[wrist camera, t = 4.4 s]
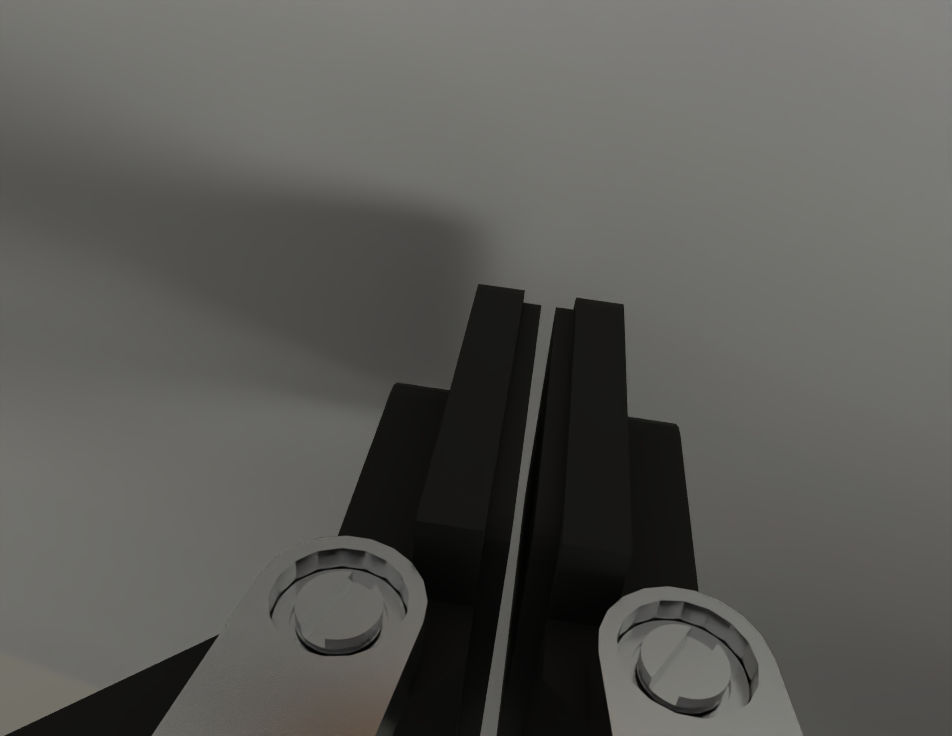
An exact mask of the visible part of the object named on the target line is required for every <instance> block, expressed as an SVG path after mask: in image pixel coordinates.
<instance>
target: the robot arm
mask: <svg viewBox="0 0 952 736" xmlns="http://www.w3.org/2000/svg"><path fill="white" fill-rule="evenodd" d="M524 293H525V290H518V289H511V288H504V287H497V286H490V285H482V284H478V287H477V291H476V295H475V298H474V302H473V306H472V310H471V313H470V317H469V321H468V325H467V328H466V332H465V336H464V340H463V343H462V347H461V351H460V355H459V358H458V362H457V366H456V370H455V374H454V377H453V381H452V385H451V389H450V390H444V389H437V388H430V387H423V386H417V385H410V384H403V383H396V384H394V386H393V388H392V390H391V392H390V395H389V398H388V401H387V403H386V406H385V409H384V411H383V414H382V417H381V420H380V422H379V425H378V428H377V431H376V433H375V436H374V439H373V442H372V444H371V447H370V450H369V452H368V455H367V458H366V461H365V463H364V466H363V469H362V472H361V474H360V477H359V480H358V482H357V485H356V488H355V491H354V493H353V496H352V499H351V502H350V504H349V507H348V510H347V513H346V515H345V518H344V521H343V523H342V526H341V529H340V532H339V534H338V536H335V537H321V538H318V539H315V540H311V541H308V542H305V543H302V544H298V545H296V546H294V547H292V548H291V549H289V550H287V551H286V552H284V553H283V554H281V555H279V556H278V557H276V558H275V559H274V560H273V561H272V562H271V563H270V564H269V565H268V566H267V567H266V568H265V569H264V570H263V571H262V573H261V574H260V575H259V576H258V577H257V579H256V580H255V582H254V583H253V585H252V586H251V588H250V589H249V591H248V592H247V594H246V595H245V597H244V598H243V600H242V601H241V603H240V604H239V606H238V607H237V609H236V610H235V612H234V613H233V615H232V616H231V618H230V619H229V621H228V622H227V624H226V625H225V627H224V628H223V630H222V631H221V633H220V634H219V635H217V636H215V637H213V638H210V639H208V640H206V641H204V642H202V643H200V644H198V645H196V646H193V647H191V648H189V649H187V650H185V651H183V652H181V653H179V654H177V655H174V656H172V657H170V658H168V659H166V660H164V661H162V662H160V663H158V664H155V665H153V666H151V667H149V668H147V669H145V670H143V671H141V672H138V673H136V674H134V675H132V676H130V677H128V678H126V679H124V680H122V681H119V682H117V683H115V684H113V685H111V686H109V687H107V688H105V689H103V690H100V691H98V692H96V693H94V694H92V695H90V696H88V697H86V698H84V699H81V700H79V701H77V702H75V703H73V704H71V705H69V706H67V707H64V708H62V709H60V710H58V711H56V712H54V713H52V714H50V715H48V716H45V717H43V718H41V719H39V720H37V721H35V722H33V723H31V724H29V725H27V726H24V727H22V728H20V729H18V730H16V731H14V732H12V733H9V734H7V735H5V736H480V732H481V726H482V720H483V713H484V707H485V701H486V694H487V688H488V681H489V675H490V669H491V662H492V656H493V650H494V643H495V637H496V630H497V624H498V618H499V611H500V605H501V599H502V592H503V586H504V580H505V573H506V567H507V560H508V554H509V547H510V540H511V533H512V526H513V519H514V512H515V504H516V496H517V489H518V481H519V473H520V465H521V458H522V450H523V442H524V435H525V427H526V419H527V412H528V404H529V396H530V388H531V381H532V373H533V365H534V358H535V350H536V342H537V335H538V327H539V319H540V311H541V305H536V304H529V303H523V301H524ZM497 736H803V733H802V731H801V728H800V725H799V723H798V720H797V717H796V715H795V712H794V709H793V706H792V704H791V701H790V698H789V696H788V693H787V690H786V688H785V685H784V682H783V679H782V677H781V674H780V671H779V669H778V666H777V663H776V660H775V658H774V656H773V654H772V653H771V651H770V649H769V647H768V645H767V644H766V642H765V640H764V638H763V636H762V635H761V634H760V633H759V632H758V631H757V630H756V629H755V628H754V627H753V626H752V625H751V624H750V623H749V622H748V620H747V619H746V618H745V617H744V616H742V615H741V614H739V613H738V612H736V611H735V610H733V609H732V608H730V607H729V606H727V605H726V604H724V603H723V602H721V601H719V600H717V599H714V598H712V597H709V596H707V595H704V594H702V593H699V592H698V583H697V575H696V566H695V558H694V549H693V540H692V532H691V523H690V515H689V506H688V497H687V489H686V480H685V471H684V463H683V454H682V446H681V437H680V432H679V427H678V426H677V425H676V424H673V423H667V422H660V421H653V420H646V419H640V418H633V417H628V414H627V384H626V355H625V325H624V305H623V304H617V303H610V302H603V301H596V300H589V299H582V298H576V300H575V304H574V309H573V310H571V309H564V308H557V307H556V310H555V316H554V322H553V328H552V334H551V340H550V346H549V352H548V359H547V365H546V371H545V377H544V383H543V389H542V395H541V401H540V408H539V414H538V420H537V426H536V432H535V438H534V444H533V450H532V457H531V463H530V469H529V475H528V481H527V487H526V494H525V501H524V509H523V517H522V525H521V534H520V542H519V551H518V559H517V568H516V576H515V585H514V593H513V602H512V610H511V619H510V627H509V636H508V644H507V652H506V661H505V669H504V678H503V686H502V695H501V703H500V712H499V720H498V729H497Z"/></svg>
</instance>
